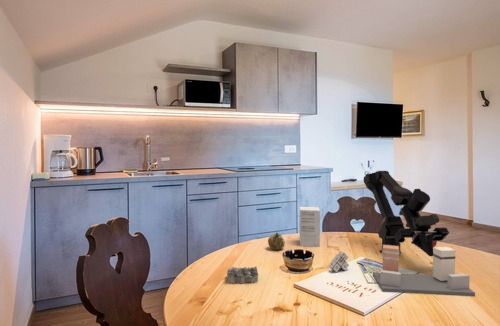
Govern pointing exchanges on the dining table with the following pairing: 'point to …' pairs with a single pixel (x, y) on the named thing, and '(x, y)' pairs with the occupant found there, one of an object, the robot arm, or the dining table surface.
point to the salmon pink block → (390, 258)
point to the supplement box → (310, 226)
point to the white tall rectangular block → (443, 262)
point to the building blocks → (339, 262)
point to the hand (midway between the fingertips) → (431, 255)
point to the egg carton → (242, 275)
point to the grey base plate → (423, 283)
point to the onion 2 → (276, 241)
